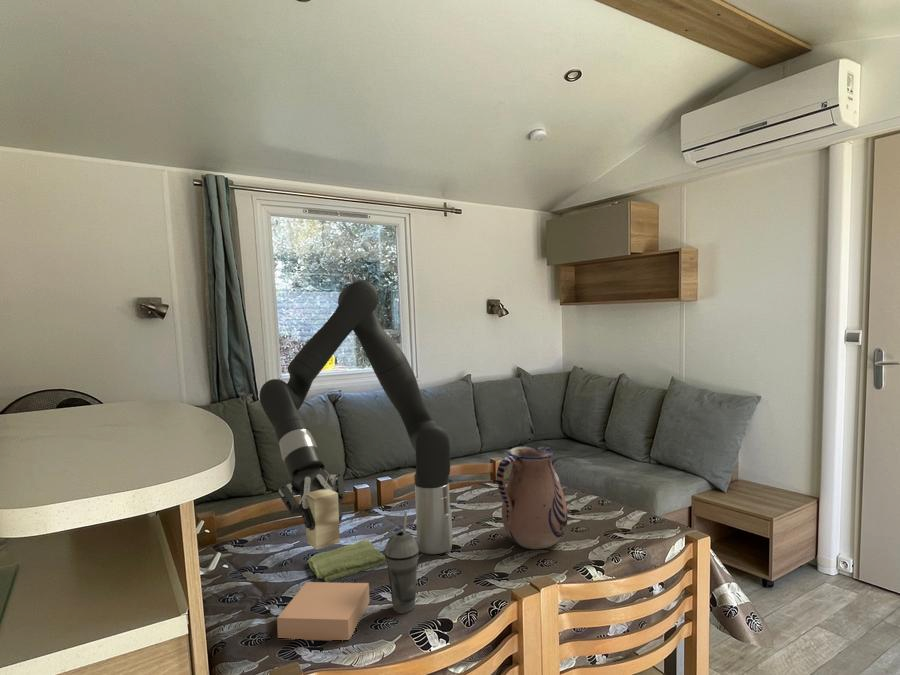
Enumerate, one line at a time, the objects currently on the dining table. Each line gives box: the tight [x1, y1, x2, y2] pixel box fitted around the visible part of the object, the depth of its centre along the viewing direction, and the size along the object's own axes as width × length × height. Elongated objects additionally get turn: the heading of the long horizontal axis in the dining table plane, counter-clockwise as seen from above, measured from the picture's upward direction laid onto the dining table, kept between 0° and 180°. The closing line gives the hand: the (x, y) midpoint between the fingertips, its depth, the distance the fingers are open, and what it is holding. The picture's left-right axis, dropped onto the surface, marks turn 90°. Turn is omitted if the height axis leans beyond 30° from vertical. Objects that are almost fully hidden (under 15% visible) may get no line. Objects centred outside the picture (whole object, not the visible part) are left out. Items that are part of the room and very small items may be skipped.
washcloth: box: [307, 539, 386, 582], centre depth 126 cm, size 13×18×3 cm
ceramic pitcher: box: [496, 445, 569, 550], centre depth 133 cm, size 18×21×25 cm
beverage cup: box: [383, 510, 420, 613], centre depth 104 cm, size 7×7×20 cm
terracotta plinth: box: [276, 581, 370, 642], centre depth 101 cm, size 14×14×4 cm
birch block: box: [305, 489, 341, 551], centre depth 101 cm, size 5×5×10 cm
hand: (326, 524), depth 100 cm, fingers closed on birch block, 5 cm apart
